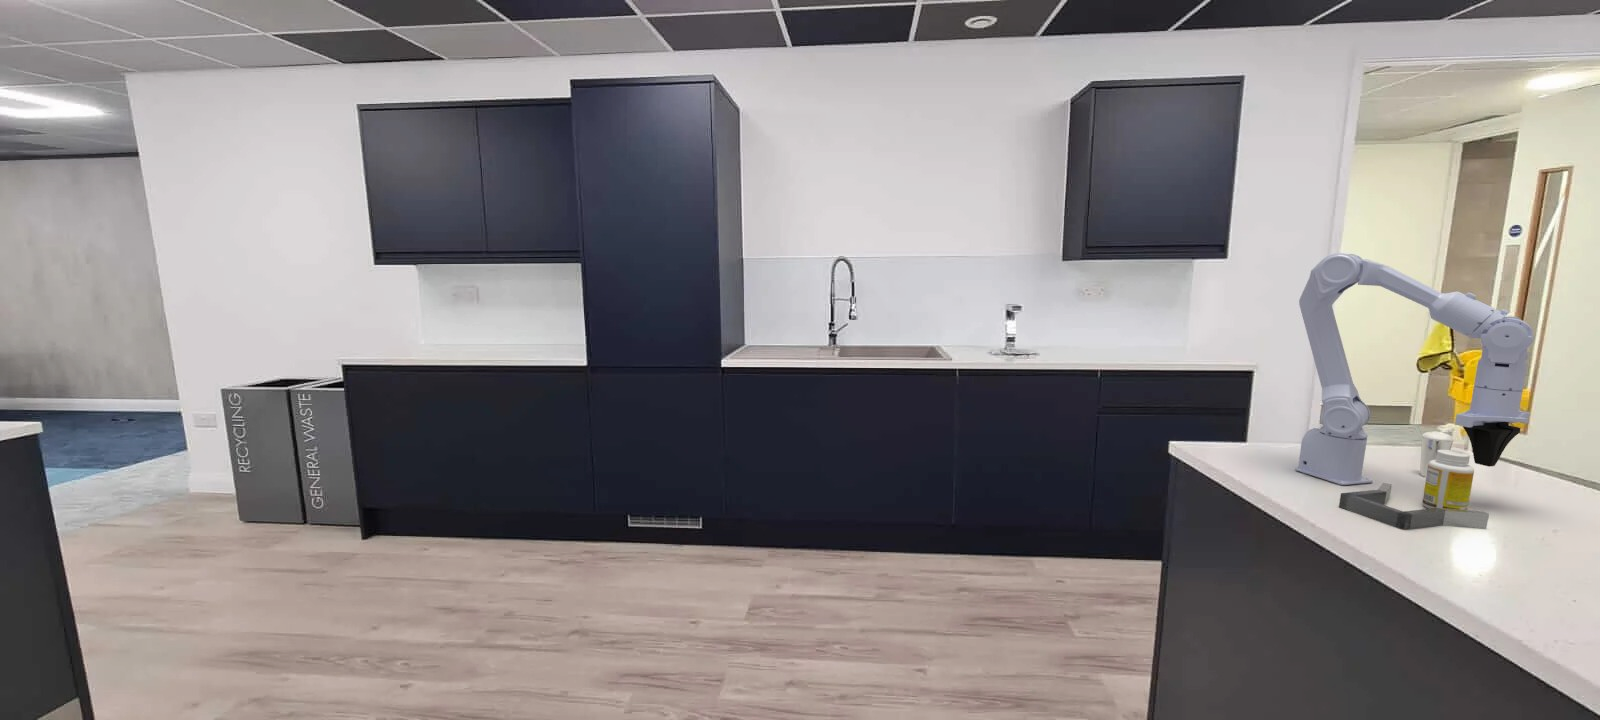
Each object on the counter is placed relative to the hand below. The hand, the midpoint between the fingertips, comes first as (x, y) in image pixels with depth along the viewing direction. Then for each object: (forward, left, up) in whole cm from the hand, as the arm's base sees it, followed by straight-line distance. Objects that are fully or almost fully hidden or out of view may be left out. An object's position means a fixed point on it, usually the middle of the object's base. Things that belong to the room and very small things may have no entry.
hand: (1484, 464), depth 112 cm
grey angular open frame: (0, -18, -8) cm, 19 cm away
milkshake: (-14, +11, -8) cm, 19 cm away
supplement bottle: (0, -8, -8) cm, 11 cm away
